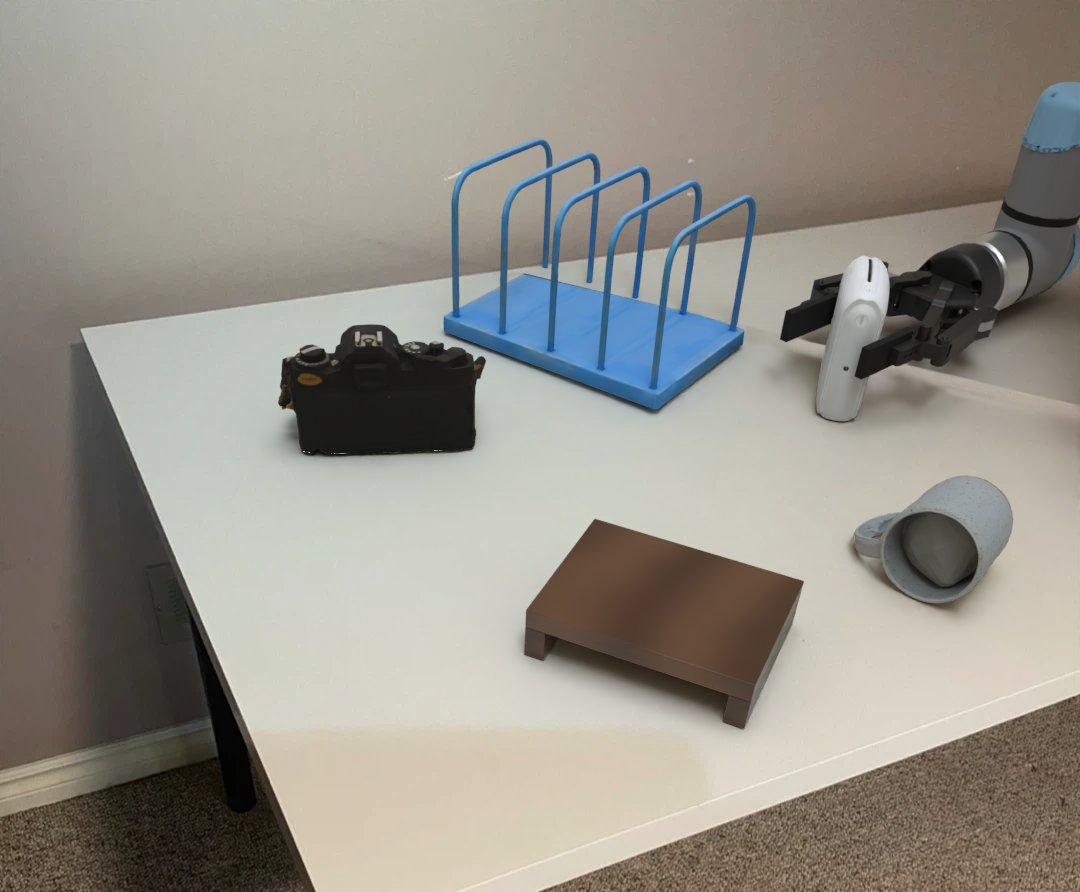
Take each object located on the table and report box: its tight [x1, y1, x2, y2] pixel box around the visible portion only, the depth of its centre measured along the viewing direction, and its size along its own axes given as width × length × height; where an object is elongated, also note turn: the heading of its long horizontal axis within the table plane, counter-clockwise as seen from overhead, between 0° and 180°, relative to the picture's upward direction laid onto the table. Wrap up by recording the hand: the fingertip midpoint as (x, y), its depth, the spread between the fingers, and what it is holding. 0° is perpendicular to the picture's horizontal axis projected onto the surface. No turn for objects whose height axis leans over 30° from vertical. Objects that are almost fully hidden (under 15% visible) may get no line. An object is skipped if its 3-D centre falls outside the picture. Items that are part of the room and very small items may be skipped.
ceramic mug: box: [853, 475, 1014, 604], centre depth 81 cm, size 11×8×8 cm
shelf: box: [523, 518, 805, 730], centre depth 75 cm, size 16×12×4 cm
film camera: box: [277, 323, 487, 455], centre depth 91 cm, size 18×12×10 cm
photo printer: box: [815, 255, 889, 422], centre depth 98 cm, size 10×4×12 cm, turn 166°
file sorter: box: [443, 137, 757, 410], centre depth 103 cm, size 25×17×15 cm
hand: (823, 344), depth 95 cm, fingers closed on photo printer, 8 cm apart
